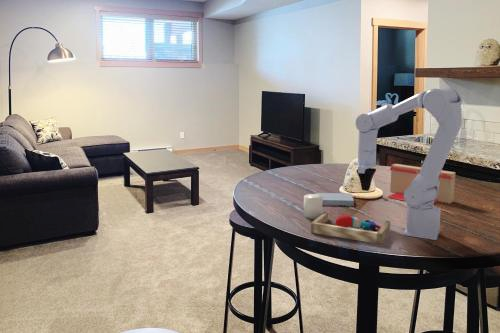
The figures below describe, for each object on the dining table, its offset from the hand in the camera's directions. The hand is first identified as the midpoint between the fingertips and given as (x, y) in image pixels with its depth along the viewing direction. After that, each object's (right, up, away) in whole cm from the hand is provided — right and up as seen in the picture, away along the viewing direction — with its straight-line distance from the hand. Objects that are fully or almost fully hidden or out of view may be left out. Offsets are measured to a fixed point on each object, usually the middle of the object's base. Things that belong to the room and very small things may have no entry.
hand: (365, 190), depth 146 cm
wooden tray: (-7, -12, -10) cm, 17 cm away
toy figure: (-5, -13, -9) cm, 16 cm away
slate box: (-6, -6, +22) cm, 24 cm away
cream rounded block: (-17, -9, +5) cm, 20 cm away
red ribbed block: (+26, -5, +24) cm, 36 cm away
